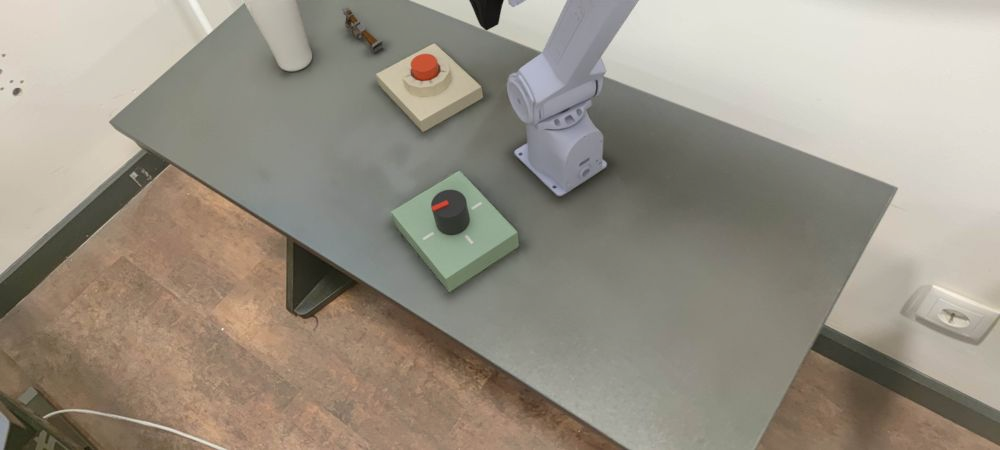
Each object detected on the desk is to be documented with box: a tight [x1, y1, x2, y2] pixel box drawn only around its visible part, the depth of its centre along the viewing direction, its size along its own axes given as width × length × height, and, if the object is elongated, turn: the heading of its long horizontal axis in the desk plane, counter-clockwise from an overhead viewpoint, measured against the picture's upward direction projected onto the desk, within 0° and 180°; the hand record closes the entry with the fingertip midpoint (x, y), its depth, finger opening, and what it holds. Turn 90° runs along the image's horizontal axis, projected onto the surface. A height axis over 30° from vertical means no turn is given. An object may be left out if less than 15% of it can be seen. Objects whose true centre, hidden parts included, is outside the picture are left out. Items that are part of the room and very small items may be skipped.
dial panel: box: [390, 170, 520, 293], centre depth 83 cm, size 12×10×3 cm
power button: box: [411, 54, 439, 81], centre depth 95 cm, size 4×4×2 cm
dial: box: [431, 190, 470, 235], centre depth 80 cm, size 4×4×4 cm
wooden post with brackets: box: [341, 6, 383, 54], centre depth 106 cm, size 2×8×4 cm, turn 44°
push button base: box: [375, 42, 484, 133], centre depth 97 cm, size 12×10×4 cm
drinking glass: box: [243, 0, 313, 72], centre depth 99 cm, size 7×7×15 cm
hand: (489, 24), depth 90 cm, fingers closed
